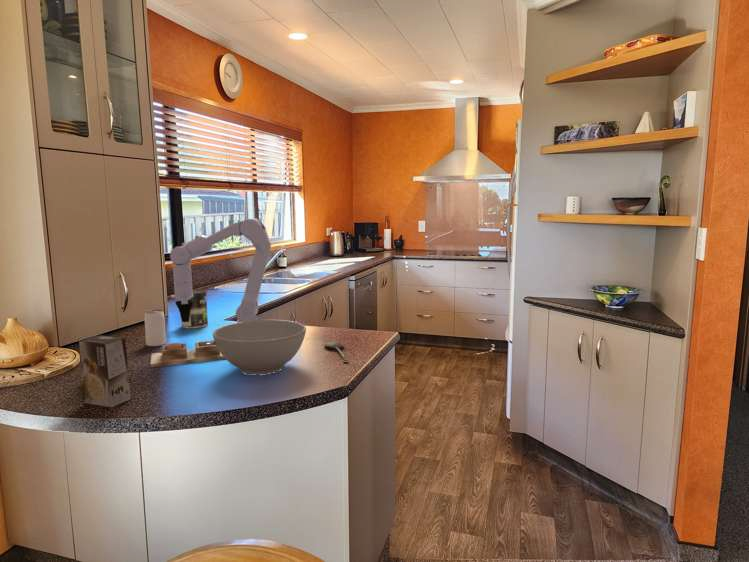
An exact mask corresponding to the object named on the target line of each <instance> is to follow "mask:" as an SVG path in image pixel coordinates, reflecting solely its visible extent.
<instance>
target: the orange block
mask: <svg viewBox="0 0 749 562" xmlns="http://www.w3.org/2000/svg"><path fill="white" fill-rule="evenodd" d="M166 345H167V350H170V349H180V348H182V343H180V342H172V343H168V344H166Z"/></svg>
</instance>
